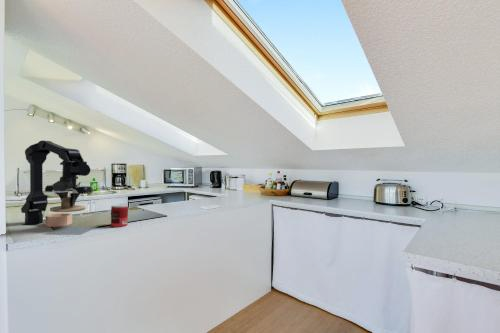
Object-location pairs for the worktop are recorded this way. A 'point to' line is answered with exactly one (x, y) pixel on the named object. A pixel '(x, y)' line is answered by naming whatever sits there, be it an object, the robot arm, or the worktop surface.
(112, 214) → the canned food
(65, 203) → the lid
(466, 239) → the worktop surface
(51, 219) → the bowl
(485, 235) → the worktop surface
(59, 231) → the mat
